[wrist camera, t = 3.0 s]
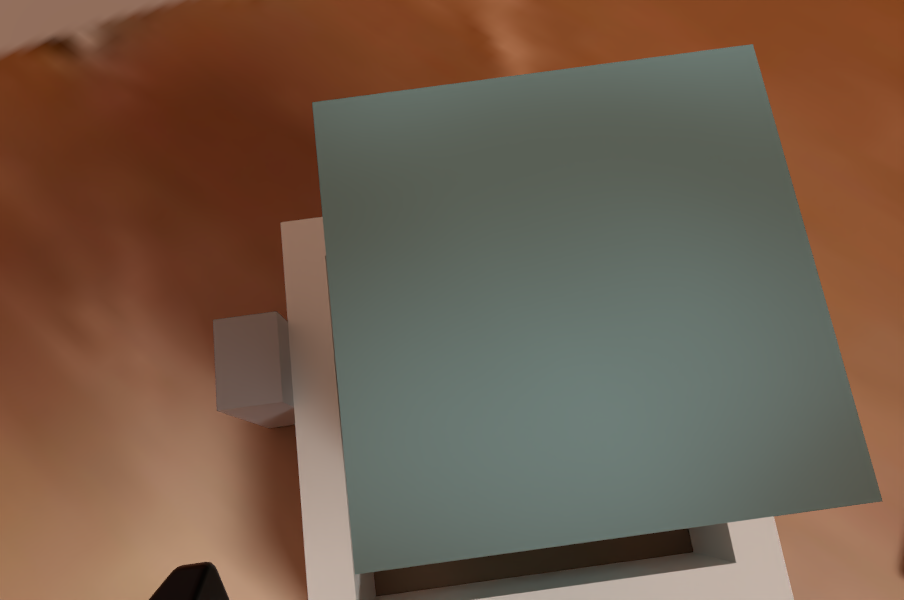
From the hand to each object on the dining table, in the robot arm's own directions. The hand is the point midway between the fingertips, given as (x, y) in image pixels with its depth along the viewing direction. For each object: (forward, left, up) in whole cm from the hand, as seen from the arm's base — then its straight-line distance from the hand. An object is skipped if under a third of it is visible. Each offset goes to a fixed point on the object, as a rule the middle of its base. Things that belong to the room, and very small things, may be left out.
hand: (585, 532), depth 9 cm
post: (+1, +2, -10) cm, 10 cm away
